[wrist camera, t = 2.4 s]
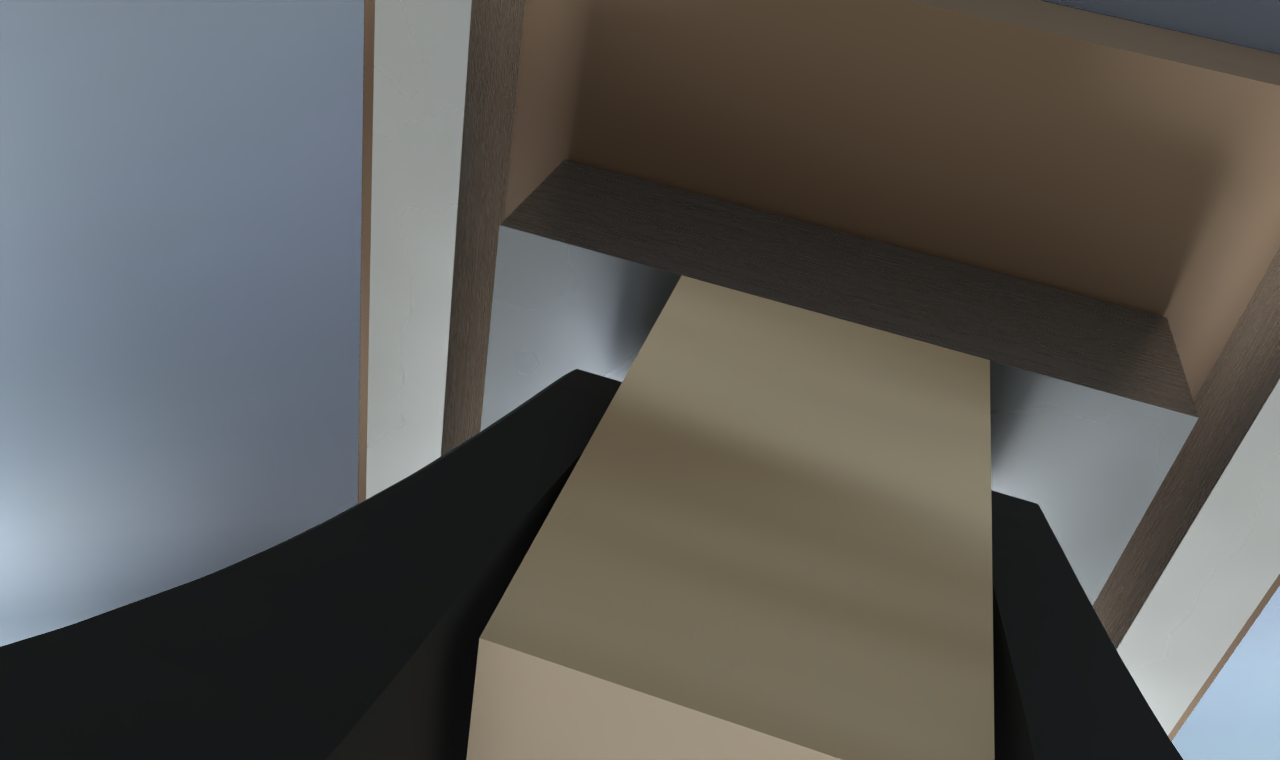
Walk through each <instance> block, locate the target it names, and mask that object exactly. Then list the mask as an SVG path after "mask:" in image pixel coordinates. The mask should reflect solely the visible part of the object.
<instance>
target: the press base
mask: <svg viewBox="0 0 1280 760" xmlns="http://www.w3.org/2000/svg"><path fill="white" fill-rule="evenodd" d="M564 159H567V160H571V161H575V162H579V163H583V164H586V165H590V166H594V167H598V168H602V169H605V170H609V171H613V172H617V173H621V174H624V175H628V176H632V177H636V178H639V179H643V180H647V181H651V182H655V183H658V184H662V185H666V186H670V187H674V188H677V189H681V190H685V191H689V192H693V193H696V194H700V195H704V196H708V197H712V198H715V199H719V200H723V201H727V202H730V203H734V204H738V205H742V206H746V207H749V208H753V209H757V210H761V211H765V212H768V213H772V214H776V215H780V216H784V217H787V218H791V219H795V220H799V221H803V222H806V223H810V224H814V225H818V226H821V227H825V228H829V229H833V230H837V231H840V232H844V233H848V234H852V235H856V236H859V237H863V238H867V239H871V240H875V241H878V242H882V243H886V244H890V245H894V246H897V247H901V248H905V249H909V250H912V251H916V252H920V253H924V254H928V255H931V256H935V257H939V258H943V259H947V260H950V261H954V262H958V263H962V264H966V265H969V266H973V267H977V268H981V269H985V270H988V271H992V272H996V273H1000V274H1003V275H1007V276H1011V277H1015V278H1019V279H1022V280H1026V281H1030V282H1034V283H1038V284H1041V285H1045V286H1049V287H1053V288H1057V289H1060V290H1064V291H1068V292H1072V293H1076V294H1079V295H1083V296H1087V297H1091V298H1094V299H1098V300H1102V301H1106V302H1110V303H1113V304H1117V305H1121V306H1125V307H1129V308H1132V309H1136V310H1140V311H1144V312H1148V313H1151V314H1155V315H1159V316H1163V317H1167V319H1168V322H1169V326H1170V329H1171V332H1172V335H1173V338H1174V341H1175V344H1176V348H1177V351H1178V354H1179V357H1180V360H1181V363H1182V366H1183V370H1184V373H1185V376H1186V379H1187V382H1188V385H1189V388H1190V392H1191V395H1192V398H1193V401H1194V404H1195V407H1196V410H1197V414H1198V417H1199V418H1198V420H1197V422H1196V424H1195V425H1194V427H1193V429H1192V431H1191V433H1190V434H1189V436H1188V438H1187V440H1186V441H1185V443H1184V445H1183V447H1182V448H1181V450H1180V452H1179V454H1178V456H1177V457H1176V459H1175V461H1174V463H1173V464H1172V466H1171V468H1170V470H1169V471H1168V473H1167V475H1166V477H1165V479H1164V480H1163V482H1162V484H1161V486H1160V487H1159V489H1158V491H1157V493H1156V495H1155V496H1154V498H1153V500H1152V502H1151V503H1150V505H1149V507H1148V509H1147V510H1146V512H1145V514H1144V516H1143V518H1142V519H1141V521H1140V523H1139V525H1138V526H1137V528H1136V530H1135V532H1134V533H1133V535H1132V537H1131V539H1130V541H1129V542H1128V544H1127V546H1126V548H1125V549H1124V551H1123V553H1122V555H1121V556H1120V558H1119V560H1118V562H1117V564H1116V565H1115V567H1114V569H1113V571H1112V572H1111V574H1110V576H1109V578H1108V579H1107V581H1106V583H1105V585H1104V587H1103V588H1102V590H1101V592H1100V594H1099V595H1098V597H1097V599H1096V601H1095V602H1094V604H1093V608H1094V610H1095V612H1096V614H1097V615H1098V617H1099V619H1100V621H1101V623H1102V625H1103V627H1104V628H1105V630H1106V632H1107V634H1108V636H1109V637H1110V639H1111V641H1112V643H1113V645H1114V646H1115V648H1116V650H1117V652H1118V654H1119V655H1120V657H1121V659H1122V660H1123V662H1124V664H1125V666H1126V667H1127V669H1128V671H1129V672H1130V674H1131V676H1132V678H1133V679H1134V681H1135V683H1136V684H1137V686H1138V688H1139V690H1140V691H1141V693H1142V695H1143V696H1144V698H1145V700H1146V702H1147V703H1148V705H1149V706H1150V708H1151V710H1152V711H1153V713H1154V715H1155V716H1156V718H1157V719H1158V721H1159V723H1160V724H1161V726H1162V727H1163V729H1164V731H1165V732H1166V734H1167V735H1168V737H1169V739H1170V740H1171V741H1172V740H1173V738H1174V737H1175V735H1176V734H1177V732H1178V731H1179V730H1180V728H1181V727H1182V725H1183V724H1184V722H1185V721H1186V719H1187V718H1188V717H1189V715H1190V714H1191V712H1192V711H1193V709H1194V708H1195V706H1196V705H1197V704H1198V702H1199V701H1200V699H1201V698H1202V696H1203V695H1204V694H1205V692H1206V691H1207V689H1208V688H1209V686H1210V685H1211V683H1212V682H1213V681H1214V679H1215V678H1216V676H1217V675H1218V673H1219V672H1220V670H1221V669H1222V668H1223V666H1224V665H1225V663H1226V662H1227V660H1228V659H1229V658H1230V656H1231V655H1232V653H1233V652H1234V650H1235V649H1236V647H1237V646H1238V645H1239V643H1240V642H1241V640H1242V639H1243V637H1244V636H1245V635H1246V633H1247V632H1248V630H1249V629H1250V627H1251V626H1252V624H1253V623H1254V622H1255V620H1256V619H1257V617H1258V616H1259V614H1260V613H1261V611H1262V610H1263V609H1264V607H1265V606H1266V604H1267V603H1268V601H1269V600H1270V599H1271V597H1272V596H1273V594H1274V593H1275V591H1276V590H1277V588H1278V587H1279V586H1280V54H1275V53H1271V52H1266V51H1262V50H1257V49H1253V48H1249V47H1244V46H1240V45H1235V44H1231V43H1227V42H1222V41H1218V40H1213V39H1209V38H1204V37H1200V36H1196V35H1191V34H1187V33H1182V32H1178V31H1173V30H1169V29H1165V28H1160V27H1156V26H1151V25H1147V24H1142V23H1138V22H1134V21H1129V20H1125V19H1120V18H1116V17H1112V16H1107V15H1103V14H1098V13H1094V12H1089V11H1085V10H1081V9H1076V8H1072V7H1067V6H1063V5H1058V4H1054V3H1050V2H1045V1H1041V0H364V76H363V154H362V232H361V310H360V388H359V465H358V504H359V503H361V502H363V501H364V500H366V499H368V498H370V497H372V496H374V495H375V494H377V493H379V492H381V491H383V490H384V489H386V488H388V487H390V486H392V485H394V484H395V483H397V482H399V481H401V480H403V479H404V478H406V477H408V476H410V475H411V474H413V473H415V472H416V471H418V470H420V469H421V468H423V467H425V466H426V465H428V464H430V463H431V462H433V461H434V460H436V459H438V458H439V457H441V456H442V455H444V454H446V453H447V452H449V451H450V450H452V449H454V448H455V447H457V446H459V445H460V444H462V443H463V442H465V441H467V440H468V439H470V438H471V437H473V436H475V435H476V434H478V433H479V432H480V429H481V418H482V408H483V397H484V386H485V376H486V365H487V354H488V343H489V333H490V322H491V311H492V301H493V290H494V279H495V268H496V258H497V247H498V236H499V226H500V224H501V223H502V222H503V221H504V220H505V219H506V218H507V217H508V216H509V215H510V214H511V213H512V212H513V211H514V210H515V209H516V208H517V207H518V206H519V205H520V204H521V203H522V202H523V201H524V200H525V199H526V198H527V197H528V196H529V195H530V194H531V193H532V192H533V191H534V190H535V189H536V188H537V187H538V186H539V185H540V184H541V183H542V182H543V181H544V180H545V179H546V178H547V177H548V176H549V175H550V174H551V173H552V172H553V171H554V170H555V168H556V167H557V166H558V165H559V164H560V163H561V162H562V161H563V160H564Z"/></svg>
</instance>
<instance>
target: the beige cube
mask: <svg viewBox="0 0 1280 760" xmlns="http://www.w3.org/2000/svg"><path fill="white" fill-rule="evenodd" d="M575 369H579V370H583V371H586V372H590V373H593V374H597V375H600V376H603V377H607V378H610V379H614V380H617V381H620V382H622V383H621V385H620V387H619V389H618V391H617V392H616V394H615V396H614V398H613V400H612V401H611V403H610V405H609V407H608V408H607V410H606V412H605V414H604V416H603V417H602V419H601V421H600V423H599V425H598V426H597V428H596V430H595V432H594V434H593V435H592V437H591V439H590V441H589V443H588V444H587V446H586V448H585V450H584V451H583V453H582V455H581V457H580V459H579V460H578V462H577V464H576V466H575V468H574V469H573V471H572V473H571V475H570V477H569V478H568V480H567V482H566V484H565V486H564V487H563V489H562V491H561V493H560V494H559V496H558V498H557V500H556V502H555V503H554V505H553V507H552V509H551V511H550V512H549V514H548V516H547V518H546V520H545V521H544V523H543V525H542V527H541V529H540V530H539V532H538V534H537V536H536V537H535V539H534V541H533V543H532V545H531V546H530V548H529V550H528V552H527V554H526V555H525V557H524V559H523V561H522V563H521V564H520V566H519V568H518V570H517V572H516V573H515V575H514V577H513V579H512V580H511V582H510V584H509V586H508V588H507V589H506V591H505V593H504V595H503V597H502V598H501V600H500V602H499V604H498V606H497V607H496V609H495V611H494V613H493V615H492V616H491V618H490V620H489V622H488V623H487V625H486V627H485V629H484V631H483V632H482V634H481V636H480V638H479V647H478V656H477V665H476V675H475V684H474V693H473V703H472V712H471V721H470V730H469V740H468V749H467V758H466V760H995V750H994V667H993V585H992V502H991V490H993V491H996V492H999V493H1003V494H1006V495H1010V496H1013V497H1016V498H1020V499H1023V500H1027V501H1030V502H1033V503H1037V504H1038V505H1039V506H1040V508H1041V510H1042V512H1043V514H1044V516H1045V518H1046V519H1047V521H1048V523H1049V525H1050V527H1051V529H1052V531H1053V532H1054V534H1055V536H1056V538H1057V540H1058V542H1059V544H1060V546H1061V548H1062V549H1063V551H1064V553H1065V555H1066V557H1067V559H1068V561H1069V563H1070V565H1071V567H1072V569H1073V570H1074V572H1075V574H1076V576H1077V578H1078V580H1079V582H1080V584H1081V586H1082V587H1083V589H1084V591H1085V593H1086V595H1087V597H1088V599H1089V601H1090V602H1091V604H1092V606H1093V604H1094V602H1095V601H1096V599H1097V597H1098V595H1099V594H1100V592H1101V590H1102V588H1103V587H1104V585H1105V583H1106V581H1107V579H1108V578H1109V576H1110V574H1111V572H1112V571H1113V569H1114V567H1115V565H1116V564H1117V562H1118V560H1119V558H1120V556H1121V555H1122V553H1123V551H1124V549H1125V548H1126V546H1127V544H1128V542H1129V541H1130V539H1131V537H1132V535H1133V533H1134V532H1135V530H1136V528H1137V526H1138V525H1139V523H1140V521H1141V519H1142V518H1143V516H1144V514H1145V512H1146V510H1147V509H1148V507H1149V505H1150V503H1151V502H1152V500H1153V498H1154V496H1155V495H1156V493H1157V491H1158V489H1159V487H1160V486H1161V484H1162V482H1163V480H1164V479H1165V477H1166V475H1167V473H1168V471H1169V470H1170V468H1171V466H1172V464H1173V463H1174V461H1175V459H1176V457H1177V456H1178V454H1179V452H1180V450H1181V448H1182V447H1183V445H1184V443H1185V441H1186V440H1187V438H1188V436H1189V434H1190V433H1191V431H1192V429H1193V427H1194V425H1195V424H1196V422H1197V420H1198V418H1199V417H1198V414H1197V410H1196V407H1195V404H1194V401H1193V398H1192V395H1191V392H1190V388H1189V385H1188V382H1187V379H1186V376H1185V373H1184V370H1183V366H1182V363H1181V360H1180V357H1179V354H1178V351H1177V348H1176V344H1175V341H1174V338H1173V335H1172V332H1171V329H1170V326H1169V322H1168V319H1167V317H1163V316H1159V315H1155V314H1151V313H1148V312H1144V311H1140V310H1136V309H1132V308H1129V307H1125V306H1121V305H1117V304H1113V303H1110V302H1106V301H1102V300H1098V299H1094V298H1091V297H1087V296H1083V295H1079V294H1076V293H1072V292H1068V291H1064V290H1060V289H1057V288H1053V287H1049V286H1045V285H1041V284H1038V283H1034V282H1030V281H1026V280H1022V279H1019V278H1015V277H1011V276H1007V275H1003V274H1000V273H996V272H992V271H988V270H985V269H981V268H977V267H973V266H969V265H966V264H962V263H958V262H954V261H950V260H947V259H943V258H939V257H935V256H931V255H928V254H924V253H920V252H916V251H912V250H909V249H905V248H901V247H897V246H894V245H890V244H886V243H882V242H878V241H875V240H871V239H867V238H863V237H859V236H856V235H852V234H848V233H844V232H840V231H837V230H833V229H829V228H825V227H821V226H818V225H814V224H810V223H806V222H803V221H799V220H795V219H791V218H787V217H784V216H780V215H776V214H772V213H768V212H765V211H761V210H757V209H753V208H749V207H746V206H742V205H738V204H734V203H730V202H727V201H723V200H719V199H715V198H712V197H708V196H704V195H700V194H696V193H693V192H689V191H685V190H681V189H677V188H674V187H670V186H666V185H662V184H658V183H655V182H651V181H647V180H643V179H639V178H636V177H632V176H628V175H624V174H621V173H617V172H613V171H609V170H605V169H602V168H598V167H594V166H590V165H586V164H583V163H579V162H575V161H571V160H567V159H564V160H563V161H562V162H561V163H560V164H559V165H558V166H557V167H556V168H555V170H554V171H553V172H552V173H551V174H550V175H549V176H548V177H547V178H546V179H545V180H544V181H543V182H542V183H541V184H540V185H539V186H538V187H537V188H536V189H535V190H534V191H533V192H532V193H531V194H530V195H529V196H528V197H527V198H526V199H525V200H524V201H523V202H522V203H521V204H520V205H519V206H518V207H517V208H516V209H515V210H514V211H513V212H512V213H511V214H510V215H509V216H508V217H507V218H506V219H505V220H504V221H503V222H502V223H501V224H500V226H499V236H498V247H497V258H496V268H495V279H494V290H493V301H492V311H491V322H490V333H489V343H488V354H487V365H486V376H485V386H484V397H483V408H482V418H481V429H480V432H481V431H482V430H484V429H485V428H487V427H488V426H490V425H491V424H493V423H494V422H496V421H497V420H499V419H500V418H502V417H503V416H505V415H506V414H508V413H509V412H511V411H512V410H514V409H515V408H517V407H518V406H520V405H521V404H523V403H524V402H526V401H527V400H529V399H530V398H531V397H533V396H534V395H536V394H537V393H539V392H540V391H542V390H543V389H544V388H546V387H547V386H549V385H550V384H552V383H553V382H555V381H556V380H558V379H559V378H561V377H562V376H563V375H565V374H567V373H569V372H571V371H573V370H575Z"/></svg>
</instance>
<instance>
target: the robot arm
mask: <svg viewBox="0 0 1280 760" xmlns="http://www.w3.org/2000/svg"><path fill="white" fill-rule="evenodd" d="M621 383H622V382H620V381H617V380H614V379H610V378H607V377H603V376H600V375H597V374H593V373H590V372H586V371H583V370H579V369H575V370H573V371H571V372H569V373H567V374H565V375H563V376H562V377H561V378H559V379H558V380H556V381H555V382H553V383H552V384H550V385H549V386H547V387H546V388H544V389H543V390H542V391H540V392H539V393H537V394H536V395H534V396H533V397H531V398H530V399H529V400H527V401H526V402H524V403H523V404H521V405H520V406H518V407H517V408H515V409H514V410H512V411H511V412H509V413H508V414H506V415H505V416H503V417H502V418H500V419H499V420H497V421H496V422H494V423H493V424H491V425H490V426H488V427H487V428H485V429H484V430H482V431H481V432H479V433H478V434H476V435H475V436H473V437H471V438H470V439H468V440H467V441H465V442H463V443H462V444H460V445H459V446H457V447H455V448H454V449H452V450H450V451H449V452H447V453H446V454H444V455H442V456H441V457H439V458H438V459H436V460H434V461H433V462H431V463H430V464H428V465H426V466H425V467H423V468H421V469H420V470H418V471H416V472H415V473H413V474H411V475H410V476H408V477H406V478H404V479H403V480H401V481H399V482H397V483H395V484H394V485H392V486H390V487H388V488H386V489H384V490H383V491H381V492H379V493H377V494H375V495H374V496H372V497H370V498H368V499H366V500H364V501H363V502H361V503H359V504H357V505H355V506H353V507H352V508H350V509H348V510H346V511H344V512H342V513H341V514H339V515H337V516H335V517H333V518H331V519H329V520H327V521H325V522H324V523H322V524H319V525H317V526H315V527H313V528H311V529H309V530H307V531H305V532H303V533H301V534H299V535H297V536H295V537H293V538H291V539H289V540H287V541H285V542H283V543H280V544H278V545H276V546H274V547H272V548H270V549H268V550H265V551H263V552H261V553H258V554H256V555H254V556H252V557H249V558H247V559H245V560H243V561H240V562H238V563H236V564H234V565H231V566H229V567H227V568H225V569H222V570H220V571H217V572H215V573H212V574H210V575H207V576H205V577H202V578H200V579H197V580H195V581H192V582H189V583H186V584H184V585H181V586H178V587H175V588H173V589H170V590H167V591H164V592H162V593H159V594H156V595H153V596H150V597H148V598H145V599H142V600H139V601H137V602H134V603H131V604H128V605H126V606H123V607H120V608H117V609H115V610H112V611H109V612H106V613H103V614H101V615H98V616H95V617H92V618H90V619H87V620H84V621H81V622H79V623H76V624H73V625H70V626H67V627H63V628H60V629H57V630H54V631H51V632H48V633H45V634H41V635H38V636H35V637H31V638H28V639H25V640H22V641H18V642H15V643H12V644H9V645H5V646H2V647H0V760H466V758H467V749H468V740H469V730H470V721H471V712H472V703H473V693H474V684H475V675H476V665H477V656H478V647H479V638H480V636H481V634H482V632H483V631H484V629H485V627H486V625H487V623H488V622H489V620H490V618H491V616H492V615H493V613H494V611H495V609H496V607H497V606H498V604H499V602H500V600H501V598H502V597H503V595H504V593H505V591H506V589H507V588H508V586H509V584H510V582H511V580H512V579H513V577H514V575H515V573H516V572H517V570H518V568H519V566H520V564H521V563H522V561H523V559H524V557H525V555H526V554H527V552H528V550H529V548H530V546H531V545H532V543H533V541H534V539H535V537H536V536H537V534H538V532H539V530H540V529H541V527H542V525H543V523H544V521H545V520H546V518H547V516H548V514H549V512H550V511H551V509H552V507H553V505H554V503H555V502H556V500H557V498H558V496H559V494H560V493H561V491H562V489H563V487H564V486H565V484H566V482H567V480H568V478H569V477H570V475H571V473H572V471H573V469H574V468H575V466H576V464H577V462H578V460H579V459H580V457H581V455H582V453H583V451H584V450H585V448H586V446H587V444H588V443H589V441H590V439H591V437H592V435H593V434H594V432H595V430H596V428H597V426H598V425H599V423H600V421H601V419H602V417H603V416H604V414H605V412H606V410H607V408H608V407H609V405H610V403H611V401H612V400H613V398H614V396H615V394H616V392H617V391H618V389H619V387H620V385H621ZM991 502H992V585H993V667H994V750H995V760H1183V759H1182V757H1181V756H1180V754H1179V753H1178V751H1177V750H1176V748H1175V747H1174V745H1173V744H1172V742H1171V740H1170V739H1169V737H1168V735H1167V734H1166V732H1165V731H1164V729H1163V727H1162V726H1161V724H1160V723H1159V721H1158V719H1157V718H1156V716H1155V715H1154V713H1153V711H1152V710H1151V708H1150V706H1149V705H1148V703H1147V702H1146V700H1145V698H1144V696H1143V695H1142V693H1141V691H1140V690H1139V688H1138V686H1137V684H1136V683H1135V681H1134V679H1133V678H1132V676H1131V674H1130V672H1129V671H1128V669H1127V667H1126V666H1125V664H1124V662H1123V660H1122V659H1121V657H1120V655H1119V654H1118V652H1117V650H1116V648H1115V646H1114V645H1113V643H1112V641H1111V639H1110V637H1109V636H1108V634H1107V632H1106V630H1105V628H1104V627H1103V625H1102V623H1101V621H1100V619H1099V617H1098V615H1097V614H1096V612H1095V610H1094V608H1093V606H1092V604H1091V602H1090V601H1089V599H1088V597H1087V595H1086V593H1085V591H1084V589H1083V587H1082V586H1081V584H1080V582H1079V580H1078V578H1077V576H1076V574H1075V572H1074V570H1073V569H1072V567H1071V565H1070V563H1069V561H1068V559H1067V557H1066V555H1065V553H1064V551H1063V549H1062V548H1061V546H1060V544H1059V542H1058V540H1057V538H1056V536H1055V534H1054V532H1053V531H1052V529H1051V527H1050V525H1049V523H1048V521H1047V519H1046V518H1045V516H1044V514H1043V512H1042V510H1041V508H1040V506H1039V505H1038V504H1037V503H1033V502H1030V501H1027V500H1023V499H1020V498H1016V497H1013V496H1010V495H1006V494H1003V493H999V492H996V491H993V490H991Z"/></svg>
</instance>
